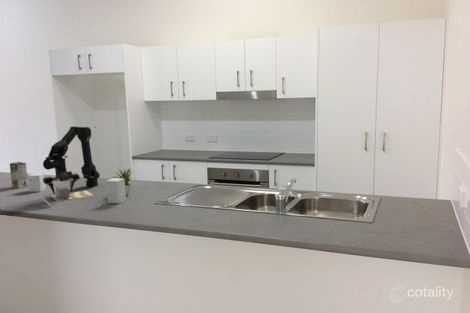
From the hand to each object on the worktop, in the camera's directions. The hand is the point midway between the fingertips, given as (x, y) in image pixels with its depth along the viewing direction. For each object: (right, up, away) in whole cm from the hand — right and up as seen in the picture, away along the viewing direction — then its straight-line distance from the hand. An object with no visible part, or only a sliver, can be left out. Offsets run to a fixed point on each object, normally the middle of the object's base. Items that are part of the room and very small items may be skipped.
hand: (62, 192), depth 224 cm
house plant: (+34, -2, +8) cm, 35 cm away
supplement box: (+34, -4, -8) cm, 35 cm away
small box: (-25, -1, +21) cm, 33 cm away
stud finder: (0, -2, 0) cm, 2 cm away
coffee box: (-43, +1, +33) cm, 54 cm away
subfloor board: (+4, -3, +3) cm, 6 cm away
